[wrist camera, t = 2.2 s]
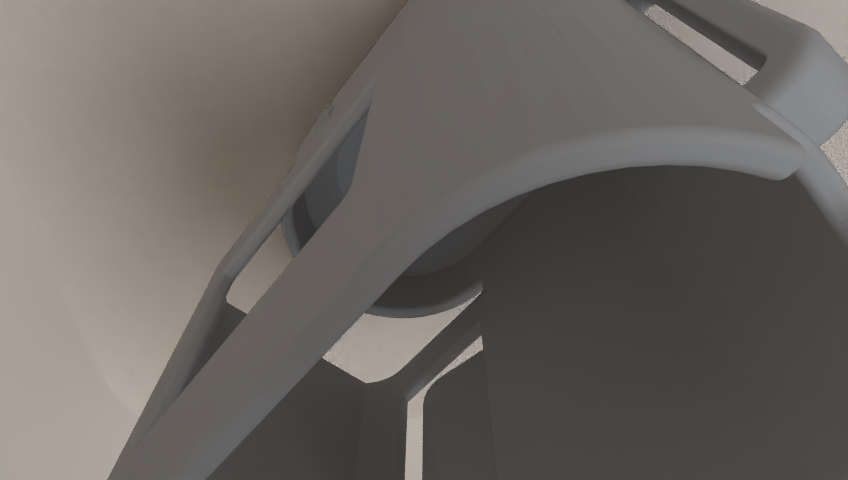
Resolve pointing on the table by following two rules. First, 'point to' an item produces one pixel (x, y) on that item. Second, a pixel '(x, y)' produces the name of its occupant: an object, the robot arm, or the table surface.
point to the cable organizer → (542, 261)
